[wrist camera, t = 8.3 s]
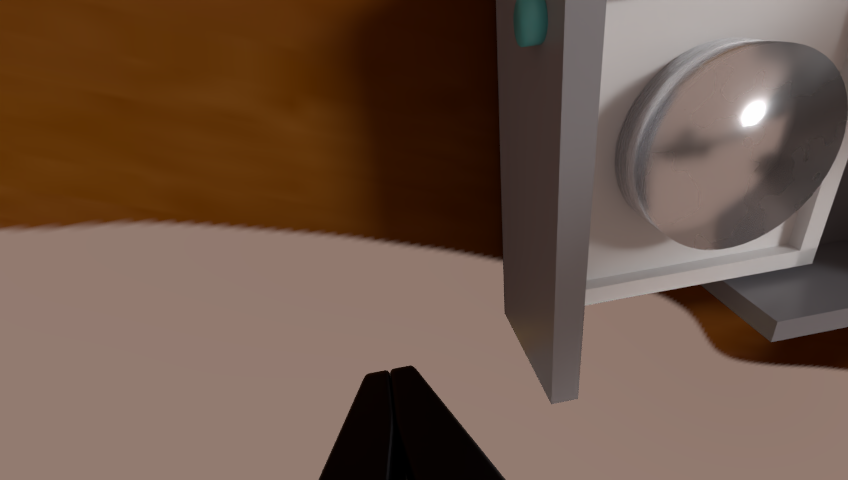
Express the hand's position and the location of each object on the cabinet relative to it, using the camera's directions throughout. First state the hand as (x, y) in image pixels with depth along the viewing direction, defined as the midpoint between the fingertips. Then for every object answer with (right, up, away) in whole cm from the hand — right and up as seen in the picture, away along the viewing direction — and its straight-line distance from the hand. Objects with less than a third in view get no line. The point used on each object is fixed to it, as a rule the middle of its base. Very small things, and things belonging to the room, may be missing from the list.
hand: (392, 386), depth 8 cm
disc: (+11, +6, +9) cm, 15 cm away
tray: (+10, +7, +10) cm, 16 cm away
